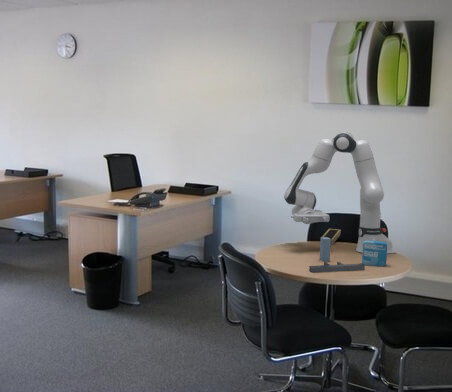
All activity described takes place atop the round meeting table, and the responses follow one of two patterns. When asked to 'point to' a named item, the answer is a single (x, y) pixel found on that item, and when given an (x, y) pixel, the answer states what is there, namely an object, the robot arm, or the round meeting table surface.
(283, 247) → the round meeting table surface
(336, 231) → the box
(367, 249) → the blue printed carton
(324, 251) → the square post
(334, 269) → the rail bracket
